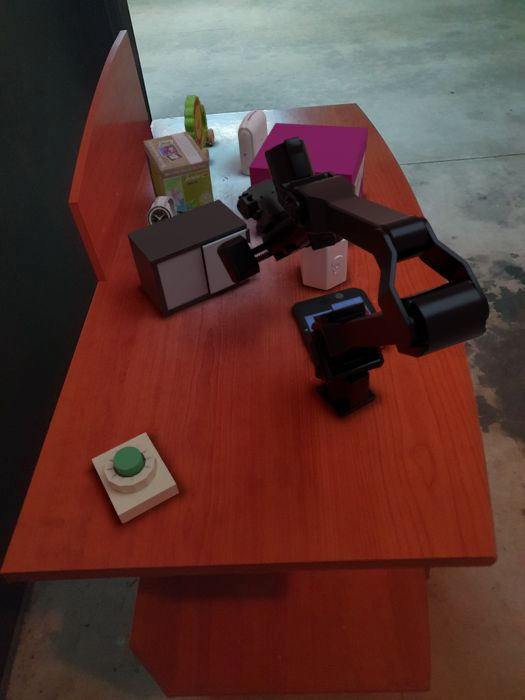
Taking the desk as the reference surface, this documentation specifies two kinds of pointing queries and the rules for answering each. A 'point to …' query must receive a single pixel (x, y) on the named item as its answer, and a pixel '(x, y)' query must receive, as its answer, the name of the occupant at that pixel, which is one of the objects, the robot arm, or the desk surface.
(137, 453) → the button
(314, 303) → the game console
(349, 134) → the decorative box
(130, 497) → the button block
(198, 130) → the toy lion
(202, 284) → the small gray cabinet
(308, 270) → the jar
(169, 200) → the watch
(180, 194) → the tea box
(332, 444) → the desk surface
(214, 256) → the gray cabinet door
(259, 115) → the photo printer
